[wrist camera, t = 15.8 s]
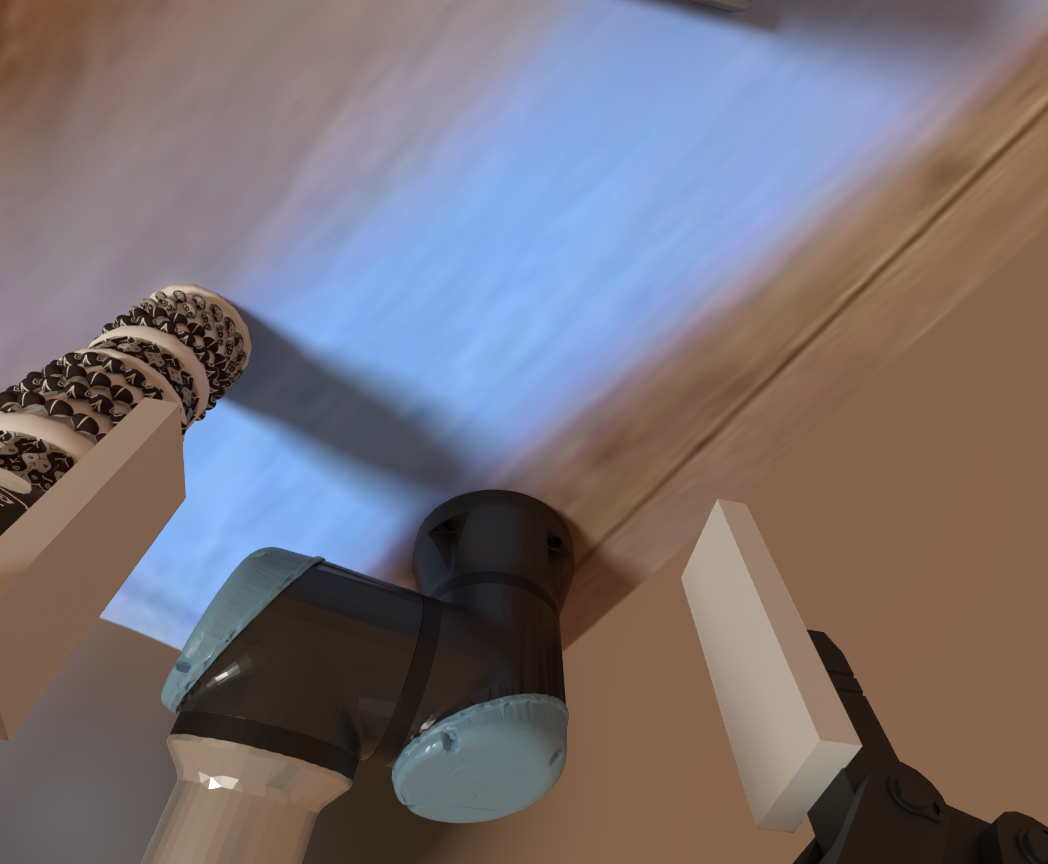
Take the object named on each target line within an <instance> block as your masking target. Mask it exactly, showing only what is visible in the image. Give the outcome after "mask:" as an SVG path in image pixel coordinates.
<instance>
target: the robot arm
mask: <svg viewBox="0 0 1048 864" xmlns="http://www.w3.org/2000/svg"><path fill="white" fill-rule="evenodd" d="M185 498H186V493H185V476H184V460H183V444H182V428H181V412H180V403H174V402H169V401H163V400H157V399H152V398H146V397H145V398H144V399H143V400H142V401H141V402H140V403H139V404H138V405H137V406H136V407H135V408H134V409H133V410H132V411H131V412H130V413H129V414H127V415H126V416H125V417H124V418H123V419H122V420H121V421H120V422H119V423H118V424H117V425H116V426H115V427H114V428H113V429H112V430H111V431H110V432H109V433H108V434H107V435H106V436H104V437H103V438H102V439H101V440H100V441H99V442H98V443H97V444H96V445H95V446H94V447H93V448H92V449H91V450H90V451H89V452H88V453H87V454H86V455H85V456H84V457H83V458H82V459H80V460H79V461H78V462H77V463H76V464H75V465H74V466H73V467H72V468H71V469H70V470H69V471H68V472H67V473H66V474H65V475H64V476H63V477H62V478H61V479H60V480H59V481H57V482H56V483H55V484H54V485H53V486H52V487H51V488H50V489H49V490H48V491H47V492H46V493H45V494H44V495H43V496H42V497H41V498H40V499H39V500H38V501H37V502H36V503H34V504H33V505H32V506H31V507H30V508H29V509H22V508H15V507H9V506H2V507H0V739H4V740H10V738H11V737H12V735H13V734H14V733H15V731H16V730H17V728H18V727H19V726H20V725H21V723H22V722H23V720H24V719H25V718H26V716H27V715H28V714H29V712H30V711H31V709H32V708H33V707H34V705H35V704H36V702H37V701H38V700H39V698H40V697H41V696H42V694H43V693H44V692H45V690H46V689H47V687H48V686H49V685H50V683H51V682H52V681H53V679H54V678H55V676H56V675H57V674H58V672H59V671H60V669H61V668H62V667H63V666H64V664H65V663H66V661H67V660H68V658H69V657H70V656H71V655H72V653H73V652H74V650H75V649H76V648H77V646H78V645H79V644H80V642H81V641H82V639H83V638H84V637H85V635H86V634H87V633H88V631H89V630H90V628H91V627H92V626H93V624H94V623H95V622H96V620H97V619H98V617H99V616H100V615H101V613H102V612H103V611H104V609H105V608H106V606H107V605H108V604H109V602H110V601H111V600H112V598H113V597H114V596H115V594H116V593H117V591H118V590H119V589H120V587H121V586H122V585H123V583H124V582H125V580H126V579H127V578H128V576H129V575H130V574H131V572H132V571H133V569H134V568H135V567H136V565H137V564H138V563H139V561H140V560H141V558H142V557H143V556H144V554H145V553H146V552H147V550H148V549H149V547H150V546H151V545H152V543H153V542H154V541H155V539H156V538H157V536H158V535H159V534H160V532H161V531H162V530H163V528H164V527H165V526H166V524H167V523H168V521H169V520H170V519H171V517H172V516H173V515H174V513H175V512H176V510H177V509H178V508H179V506H180V505H181V504H182V502H183V501H184V499H185ZM412 564H413V574H414V579H415V582H416V586H417V590H418V592H415V591H412V590H409V589H406V588H403V587H400V586H397V585H394V584H391V583H388V582H385V581H382V580H379V579H376V578H373V577H370V576H367V575H364V574H361V573H358V572H355V571H353V570H350V569H347V568H344V567H341V566H339V565H336V564H333V563H330V562H327V561H325V559H324V558H322V557H319V556H317V557H310V556H307V555H303V554H299V553H295V552H292V551H288V550H285V549H281V548H277V547H266V548H262V549H259V550H257V551H255V552H253V553H251V554H250V555H249V556H247V557H246V558H245V559H244V560H243V561H242V562H241V563H240V564H239V565H238V566H237V568H236V569H235V570H234V571H233V572H232V574H231V575H230V576H229V578H228V579H227V580H226V582H225V583H224V584H223V586H222V587H221V589H220V590H219V591H218V593H217V594H216V596H215V597H214V599H213V600H212V602H211V603H210V605H209V606H208V608H207V609H206V611H205V612H204V614H203V615H202V617H201V619H200V620H199V622H198V623H197V625H196V627H195V628H194V630H193V632H192V633H191V635H190V637H189V639H188V640H187V642H186V644H185V646H184V648H183V651H182V655H181V656H180V657H179V659H178V660H177V662H176V664H175V666H174V668H173V669H172V670H171V672H170V674H169V676H168V678H167V680H166V683H165V685H164V688H163V691H162V695H161V699H162V702H163V705H165V706H166V707H167V708H168V709H169V711H170V712H172V713H177V712H180V713H179V716H178V718H177V720H176V722H175V724H174V727H173V728H172V731H171V733H170V735H169V737H168V740H167V745H168V747H169V750H170V753H171V755H172V758H173V761H174V764H175V766H176V769H177V779H178V780H177V783H176V785H175V787H174V790H173V792H172V794H171V796H170V799H169V801H168V803H167V805H166V808H165V810H164V812H163V814H162V817H161V819H160V821H159V823H158V826H157V828H156V830H155V832H154V835H153V837H152V839H151V842H150V844H149V846H148V848H147V851H146V853H145V855H144V858H143V860H142V862H141V864H301V863H302V860H303V857H304V854H305V851H306V848H307V845H308V841H309V838H310V835H311V832H312V829H313V826H314V823H315V819H316V816H317V814H318V813H319V812H320V811H321V809H322V808H323V807H324V806H325V805H327V804H328V803H330V802H331V801H333V800H334V799H335V798H337V797H338V796H340V795H341V794H343V793H344V792H345V791H347V790H348V789H350V788H351V785H352V782H353V779H354V775H355V772H356V769H357V766H358V762H359V760H360V759H362V760H366V761H370V762H374V763H377V764H381V765H384V766H388V767H391V768H393V770H392V780H393V784H394V789H395V793H396V795H397V797H398V799H399V800H400V801H401V803H402V804H404V805H408V808H409V809H410V810H411V811H412V812H414V813H415V814H417V815H420V816H422V817H425V818H428V819H432V820H436V821H442V822H452V823H471V822H481V821H487V820H492V819H497V818H500V817H503V816H506V815H509V814H513V813H516V812H518V811H520V810H523V809H525V808H527V807H529V806H530V805H532V804H534V803H535V802H536V801H538V800H540V799H541V798H542V797H543V796H545V795H546V794H547V793H548V792H549V791H550V790H551V789H552V788H553V786H554V785H555V784H556V783H557V781H558V780H559V778H560V776H561V774H562V772H563V769H564V766H565V762H566V754H567V725H568V719H569V715H568V714H569V713H568V709H567V707H566V701H565V688H564V674H563V661H562V648H561V636H560V623H559V616H560V613H561V611H562V608H563V605H564V602H565V599H566V597H567V594H568V591H569V588H570V586H571V583H572V579H573V575H574V552H573V543H572V539H571V536H570V533H569V531H568V529H567V527H566V526H565V524H564V522H563V521H562V520H561V519H560V517H559V516H558V515H557V514H556V513H555V512H554V511H552V510H551V509H550V508H549V507H547V506H546V505H544V504H543V503H541V502H539V501H537V500H535V499H533V498H531V497H528V496H525V495H522V494H519V493H514V492H509V491H501V490H484V491H476V492H471V493H467V494H463V495H460V496H458V497H455V498H453V499H451V500H449V501H447V502H445V503H443V504H442V505H440V506H439V507H438V508H436V509H435V510H434V511H433V512H432V513H431V514H430V515H429V516H428V517H427V518H426V519H425V521H424V522H423V524H422V526H421V527H420V529H419V532H418V535H417V538H416V543H415V547H414V552H413V562H412ZM681 579H682V583H683V586H684V589H685V592H686V596H687V599H688V603H689V606H690V610H691V613H692V616H693V619H694V623H695V626H696V630H697V633H698V636H699V640H700V643H701V647H702V650H703V653H704V657H705V660H706V663H707V667H708V670H709V674H710V677H711V680H712V683H713V687H714V690H715V694H716V697H717V700H718V704H719V707H720V710H721V714H722V717H723V721H724V724H725V727H726V731H727V734H728V737H729V741H730V744H731V748H732V751H733V754H734V758H735V761H736V764H737V767H738V771H739V774H740V778H741V781H742V785H743V788H744V791H745V795H746V798H747V801H748V805H749V808H750V811H751V815H752V818H753V821H754V825H755V828H757V829H765V830H774V831H783V832H791V833H794V832H795V830H796V829H797V828H798V827H799V825H800V824H801V823H802V822H803V820H804V819H805V817H806V816H807V815H808V817H809V820H810V822H811V825H812V828H813V831H814V833H815V838H814V839H813V840H812V841H811V843H810V844H809V845H808V846H807V847H806V848H805V850H804V851H803V852H802V853H801V854H800V856H799V857H798V858H797V859H796V860H795V862H794V863H793V864H1048V827H1046V826H1045V825H1043V824H1042V823H1040V822H1038V821H1037V820H1035V819H1034V818H1032V817H1030V816H1027V815H1024V814H1022V813H1019V812H1004V813H1003V814H1002V815H1001V816H999V817H998V818H997V819H996V820H995V821H994V822H993V823H992V824H990V823H988V822H985V821H983V820H981V819H978V818H976V817H974V816H972V815H969V814H967V813H965V812H962V811H960V810H958V809H955V808H953V807H951V806H949V805H947V804H946V803H945V801H944V799H943V797H942V796H941V794H940V793H939V792H938V790H937V789H936V788H935V787H934V785H933V784H932V783H931V782H930V781H929V780H928V779H927V778H925V777H924V776H923V775H922V774H921V773H919V772H918V771H917V770H915V769H913V768H912V767H910V766H908V765H906V764H904V763H902V762H900V761H899V759H898V758H897V756H896V754H895V752H894V750H893V748H892V746H891V744H890V742H889V740H888V738H887V737H886V735H885V733H884V731H883V729H882V727H881V725H880V723H879V721H878V720H877V717H876V716H875V714H874V712H873V710H872V708H871V706H870V704H869V702H868V700H867V698H866V697H865V696H863V691H862V689H861V687H860V685H859V683H858V681H857V679H856V678H854V677H853V675H854V674H853V672H852V670H851V668H850V666H849V664H848V662H847V660H846V658H845V656H844V654H843V653H842V651H841V650H840V649H839V648H838V647H837V646H836V645H835V644H834V643H833V642H832V641H831V640H830V638H828V636H827V635H826V634H825V633H824V632H819V631H813V630H806V628H805V626H804V624H803V622H802V620H801V617H800V615H799V613H798V611H797V609H796V607H795V605H794V603H793V601H792V599H791V597H790V595H789V593H788V591H787V589H786V586H785V584H784V582H783V580H782V578H781V576H780V574H779V572H778V570H777V568H776V566H775V564H774V562H773V560H772V558H771V555H770V553H769V551H768V549H767V547H766V545H765V543H764V541H763V539H762V537H761V535H760V533H759V530H758V528H757V526H756V524H755V522H754V520H753V518H752V516H751V514H750V512H749V510H748V508H747V506H746V504H743V503H736V502H731V501H726V500H720V499H717V501H716V503H715V505H714V507H713V510H712V512H711V514H710V516H709V518H708V520H707V523H706V525H705V527H704V529H703V531H702V534H701V536H700V538H699V540H698V542H697V544H696V547H695V549H694V551H693V553H692V555H691V557H690V560H689V562H688V564H687V567H686V568H685V571H684V573H683V575H682V577H681Z"/></svg>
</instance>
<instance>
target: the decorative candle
mask: <svg viewBox="0 0 1048 864" xmlns="http://www.w3.org/2000/svg"><path fill="white" fill-rule="evenodd" d="M140 304H141V306H142V308H139V307H137V306H131V307H130V308H129V312H130V316H126V315H120V316H118V317H117V318H116V320H115V324H113V323H109V324H106V325H104V327H103V330H102V332H103V334H102V335H101V336H99V337H96V338H95V339H94V340H93V342H92V343H91V344H90V345H89V347H88V348H82V349H80V350H78V351H75V352H71V353H68V354H66V355H64V356H63V357H61V358H60V359H58V360H53V361H52V362H51V363H50V364H49V365H47V366H45V367H44V368H43V369H42V372H41V373H40V372H30V373H29V374H28V375H27V376H26V379H24V380H22V381H21V382H20V384H19V386H16V385H14V386H11V387H9V388H8V389H7V390H6V391H5V392H1V393H0V507H2V506H9V507H15V508H22V509H29V508H30V507H31V506H32V505H33V504H34V503H36V502H37V501H38V500H39V499H40V498H41V497H42V496H43V495H44V494H45V493H46V492H47V491H48V490H49V489H50V488H51V487H52V486H53V485H54V484H55V483H56V482H57V481H59V480H60V479H61V478H62V477H63V476H64V475H65V474H66V473H67V472H68V471H69V470H70V469H71V468H72V467H73V466H74V465H75V464H76V463H77V462H78V461H79V460H80V459H82V458H83V457H84V456H85V455H86V454H87V453H88V452H89V451H90V450H91V449H92V448H93V447H94V446H95V445H96V444H97V443H98V442H99V441H100V440H101V439H102V438H103V437H104V436H106V435H107V434H108V433H109V432H110V431H111V430H112V429H113V428H114V427H115V426H116V425H117V424H118V423H119V422H120V421H121V420H122V419H123V418H124V417H125V416H126V415H127V414H129V413H130V412H131V411H132V410H133V409H134V408H135V407H136V406H137V405H138V404H139V403H140V402H141V401H142V400H143V399H144V398H145V397H146V398H152V399H157V400H163V401H169V402H174V403H180V412H181V428H182V444H183V441H184V436H185V432H186V430H187V429H188V428H189V427H190V426H191V425H192V424H193V422H194V421H199V420H203V419H204V418H205V415H206V411H205V410H211V409H213V408H214V407H215V406H216V400H217V399H220V398H222V397H223V396H224V394H225V390H227V389H229V388H231V387H232V386H233V385H234V383H235V380H236V379H238V378H239V377H240V376H241V375H242V371H243V369H244V368H245V367H246V366H247V365H248V362H249V358H250V354H251V349H252V344H251V339H250V335H249V330H248V327H247V325H246V324H245V322H244V321H243V319H242V318H241V316H240V315H239V313H238V311H237V310H236V308H234V307H233V306H232V305H231V304H229V303H228V302H227V301H225V300H224V299H223V298H222V297H220V296H219V295H218V294H217V293H214V292H211V291H209V290H206V289H203V288H201V287H198V286H195V285H171V286H169V287H166V288H164V289H162V290H160V291H157V292H155V293H153V294H152V295H151V296H150V298H148V299H141V301H140Z"/></svg>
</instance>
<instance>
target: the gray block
mask: <svg viewBox="0 0 1048 864" xmlns="http://www.w3.org/2000/svg"><path fill="white" fill-rule="evenodd" d="M689 1H692V2H696V3H699V4H703V5H707V6H710V7H714V8H717V9H721V10H725V11H728V12H736V11H743V10H747V9H748V6H749V3H750V0H689Z"/></svg>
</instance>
